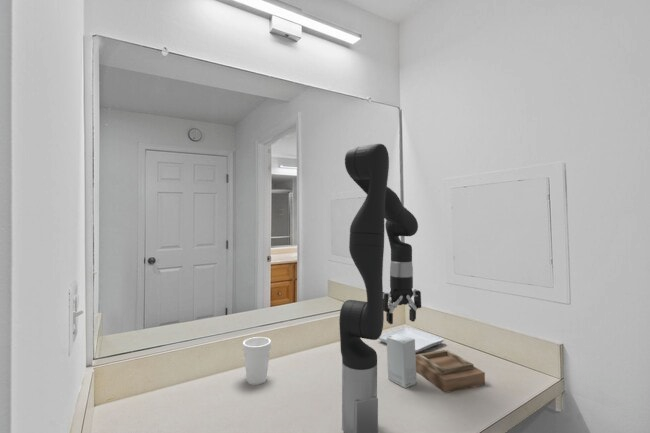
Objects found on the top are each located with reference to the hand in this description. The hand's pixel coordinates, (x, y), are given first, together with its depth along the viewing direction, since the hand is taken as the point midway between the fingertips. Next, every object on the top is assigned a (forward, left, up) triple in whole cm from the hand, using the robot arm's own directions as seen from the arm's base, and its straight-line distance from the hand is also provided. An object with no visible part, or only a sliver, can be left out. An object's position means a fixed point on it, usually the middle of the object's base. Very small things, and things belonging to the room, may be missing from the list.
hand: (401, 322), depth 114 cm
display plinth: (-1, -17, -20) cm, 26 cm away
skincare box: (0, 0, -20) cm, 20 cm away
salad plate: (+28, -22, -21) cm, 41 cm away
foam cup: (+17, +46, -20) cm, 53 cm away
